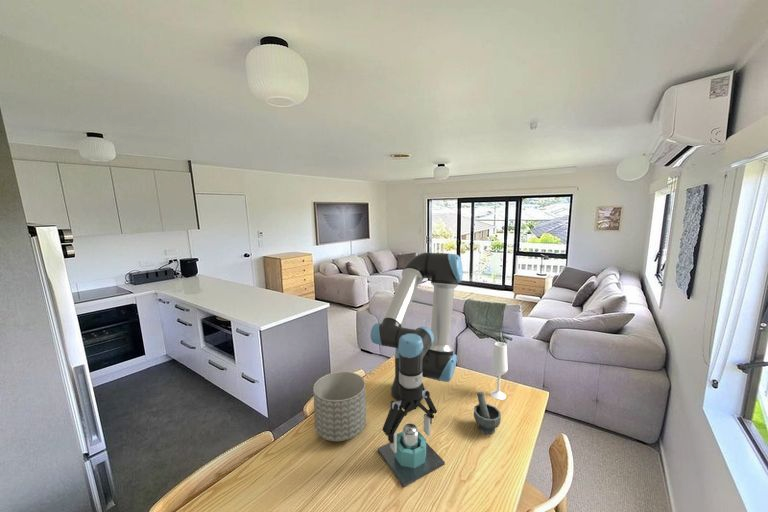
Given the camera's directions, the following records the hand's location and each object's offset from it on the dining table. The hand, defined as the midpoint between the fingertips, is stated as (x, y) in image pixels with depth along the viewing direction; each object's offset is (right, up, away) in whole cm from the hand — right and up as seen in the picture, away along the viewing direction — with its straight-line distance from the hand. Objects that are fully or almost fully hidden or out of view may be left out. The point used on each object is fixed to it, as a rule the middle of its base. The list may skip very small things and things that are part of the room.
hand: (410, 441), depth 98 cm
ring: (0, -5, 0) cm, 5 cm away
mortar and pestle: (+30, -4, +14) cm, 33 cm away
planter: (-25, -4, +13) cm, 29 cm away
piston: (0, -6, 0) cm, 6 cm away
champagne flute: (+42, -1, +34) cm, 54 cm away
